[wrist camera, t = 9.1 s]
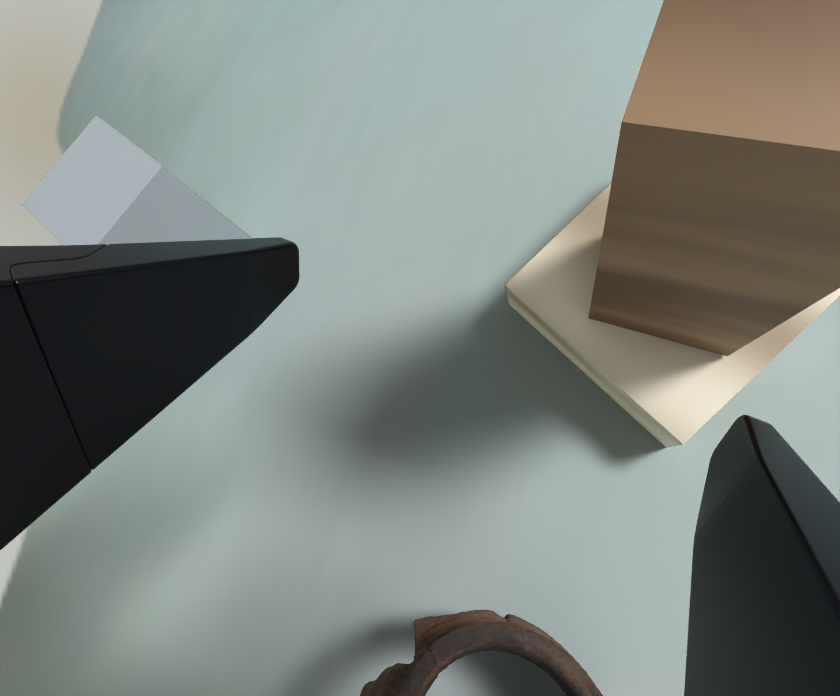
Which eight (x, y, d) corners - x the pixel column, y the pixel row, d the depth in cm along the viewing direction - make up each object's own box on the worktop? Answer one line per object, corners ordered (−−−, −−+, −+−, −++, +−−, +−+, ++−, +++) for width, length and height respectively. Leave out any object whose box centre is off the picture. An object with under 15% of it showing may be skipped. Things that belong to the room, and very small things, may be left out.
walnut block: (727, 356, 17) (1023, 176, 6) (588, 318, 19) (621, 122, 8) (758, 255, 18) (1088, -85, 7) (619, 227, 19) (692, -83, 8)
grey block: (212, 322, 26) (81, 264, 19) (161, 275, 28) (21, 204, 21) (269, 251, 27) (162, 165, 19) (214, 209, 28) (96, 115, 21)
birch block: (663, 448, 20) (683, 444, 17) (509, 307, 23) (505, 284, 20) (819, 299, 20) (865, 270, 17) (645, 177, 23) (659, 136, 20)
